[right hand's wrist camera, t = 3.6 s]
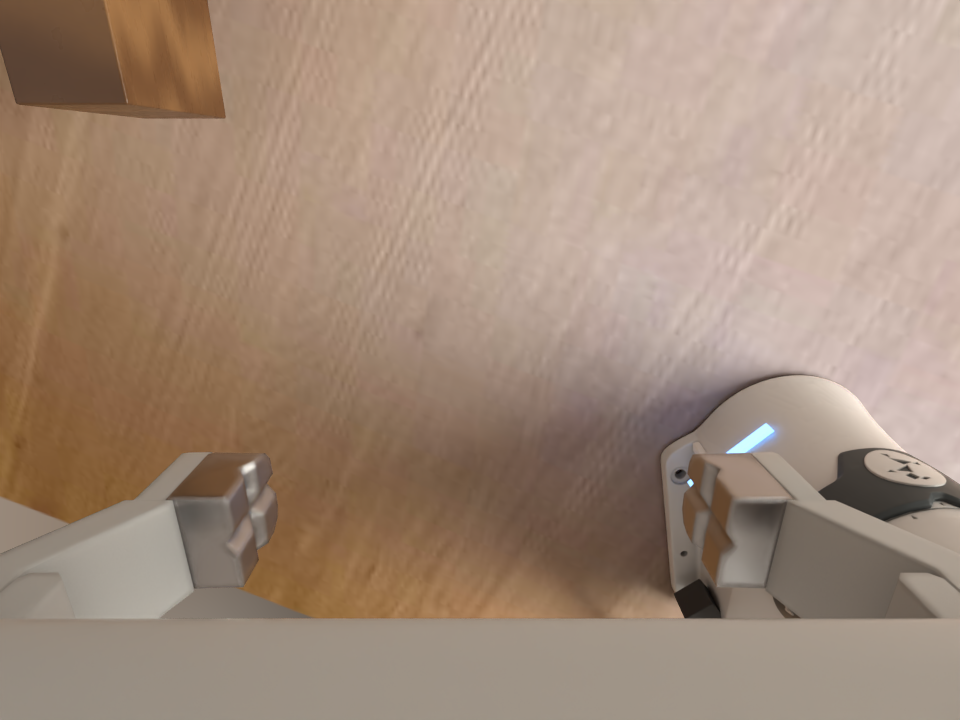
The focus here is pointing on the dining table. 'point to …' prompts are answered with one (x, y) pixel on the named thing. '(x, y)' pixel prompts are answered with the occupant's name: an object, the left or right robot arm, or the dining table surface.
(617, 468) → the dining table surface
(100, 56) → the bar
